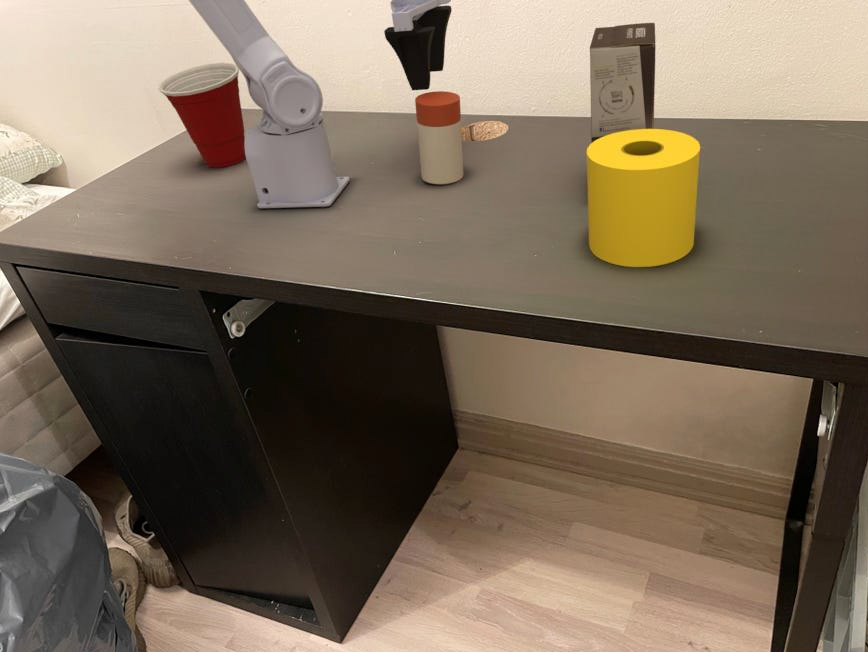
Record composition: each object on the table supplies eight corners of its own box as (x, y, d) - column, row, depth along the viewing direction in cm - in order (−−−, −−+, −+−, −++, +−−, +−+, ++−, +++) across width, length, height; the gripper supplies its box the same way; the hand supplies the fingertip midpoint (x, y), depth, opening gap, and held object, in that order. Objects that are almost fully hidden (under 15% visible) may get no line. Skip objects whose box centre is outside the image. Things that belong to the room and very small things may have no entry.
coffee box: (651, 201, 79) (655, 42, 70) (591, 202, 81) (587, 47, 71) (652, 168, 86) (656, 20, 77) (597, 169, 88) (594, 24, 78)
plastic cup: (171, 174, 103) (138, 86, 96) (219, 145, 111) (192, 62, 104) (232, 177, 99) (203, 86, 92) (278, 148, 107) (254, 62, 100)
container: (467, 168, 93) (463, 91, 87) (459, 185, 89) (454, 105, 83) (426, 166, 94) (421, 90, 88) (417, 183, 89) (410, 104, 84)
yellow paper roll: (690, 269, 67) (697, 170, 61) (581, 265, 70) (578, 169, 64) (696, 220, 75) (702, 128, 69) (597, 218, 77) (595, 129, 72)
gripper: (429, -36, 77) (447, 96, 85) (457, -57, 88) (470, 61, 96) (365, -30, 78) (388, 99, 86) (400, -51, 90) (418, 64, 98)
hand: (428, 79), depth 91 cm, fingers open, 7 cm apart
